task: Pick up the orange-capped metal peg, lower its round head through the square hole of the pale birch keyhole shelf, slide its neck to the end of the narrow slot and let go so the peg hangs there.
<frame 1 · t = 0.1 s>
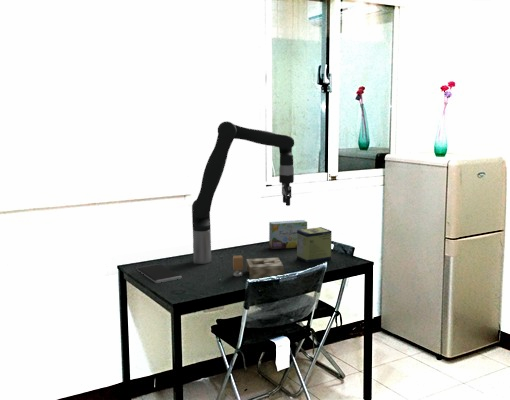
hand: (286, 204, 309), 29 cm above the table, tool pointing down, fingers open, 8 cm apart
keyhole shelf: (264, 274, 285), on the table
snack box: (288, 247, 336), on the table
smartphone: (158, 275, 288), on the table
keyhole peg: (238, 275, 284), on the table
protein box: (313, 259, 312), on the table
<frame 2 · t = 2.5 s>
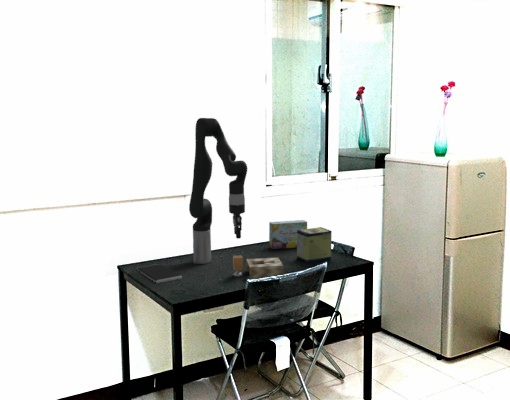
hand: (237, 236, 280), 20 cm above the table, tool pointing down, fingers open, 8 cm apart
nothing on the table moved.
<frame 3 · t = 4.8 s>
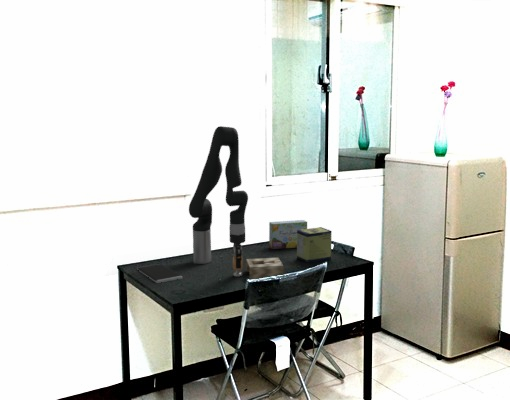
hand: (237, 266, 283), 5 cm above the table, tool pointing down, fingers closed on keyhole peg, 4 cm apart
keyhole peg: (238, 275, 284), on the table, touching gripper
everything else where it was.
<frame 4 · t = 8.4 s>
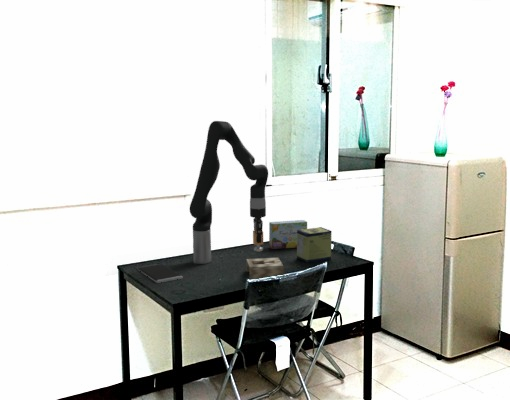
hand: (258, 241, 282), 17 cm above the table, tool pointing down, fingers closed on keyhole peg, 4 cm apart
keyhole peg: (258, 250, 283), point 12 cm above the table, touching gripper
everything else where it was.
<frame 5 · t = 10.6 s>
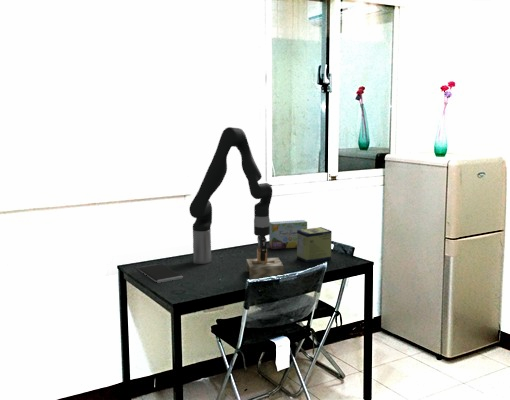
hand: (262, 259, 284), 8 cm above the table, tool pointing down, fingers closed on keyhole peg, 4 cm apart
keyhole peg: (262, 268, 285), point 3 cm above the table, touching gripper
everything else where it was.
when the fingers open (8 cm above the table, at t = 12.4 s): keyhole peg stays where it is, resting on keyhole shelf.
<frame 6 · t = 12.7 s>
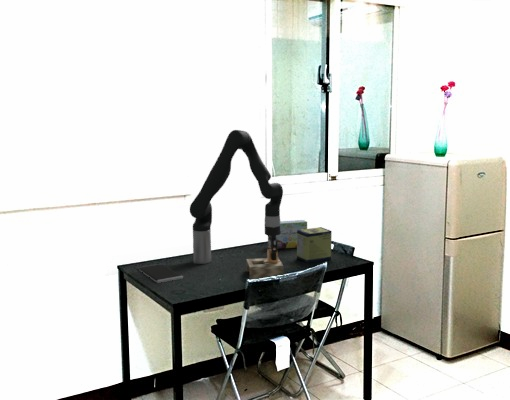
hand: (272, 258, 284), 8 cm above the table, tool pointing down, fingers open, 6 cm apart
keyhole peg: (272, 268, 285), point 3 cm above the table, touching keyhole shelf
everything else where it was.
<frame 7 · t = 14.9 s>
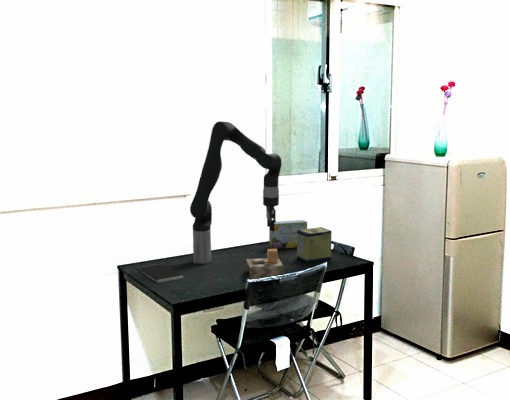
hand: (270, 228, 283), 22 cm above the table, tool pointing down, fingers open, 8 cm apart
nothing on the table moved.
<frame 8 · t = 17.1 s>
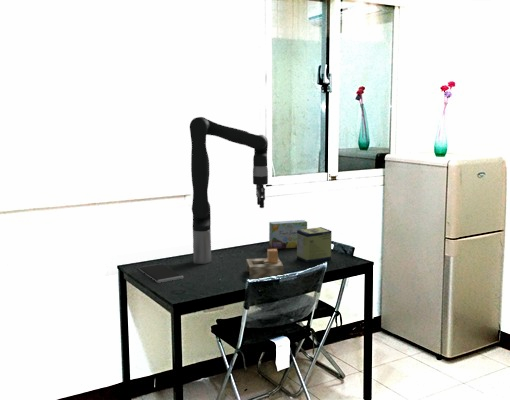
hand: (260, 206, 299), 30 cm above the table, tool pointing down, fingers open, 8 cm apart
nothing on the table moved.
at the end: keyhole peg 0.1 cm from the target spot on the keyhole shelf, point 2.6 cm above the keyhole shelf's base; keyhole peg tilted 0°; the gripper is holding nothing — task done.
